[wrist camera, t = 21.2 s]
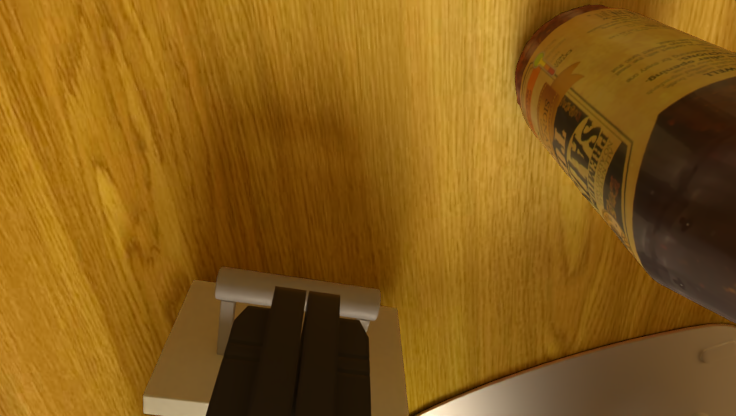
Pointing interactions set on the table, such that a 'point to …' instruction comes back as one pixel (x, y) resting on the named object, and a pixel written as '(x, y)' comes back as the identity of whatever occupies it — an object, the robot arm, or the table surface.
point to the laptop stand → (619, 380)
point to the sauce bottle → (643, 139)
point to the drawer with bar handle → (244, 287)
